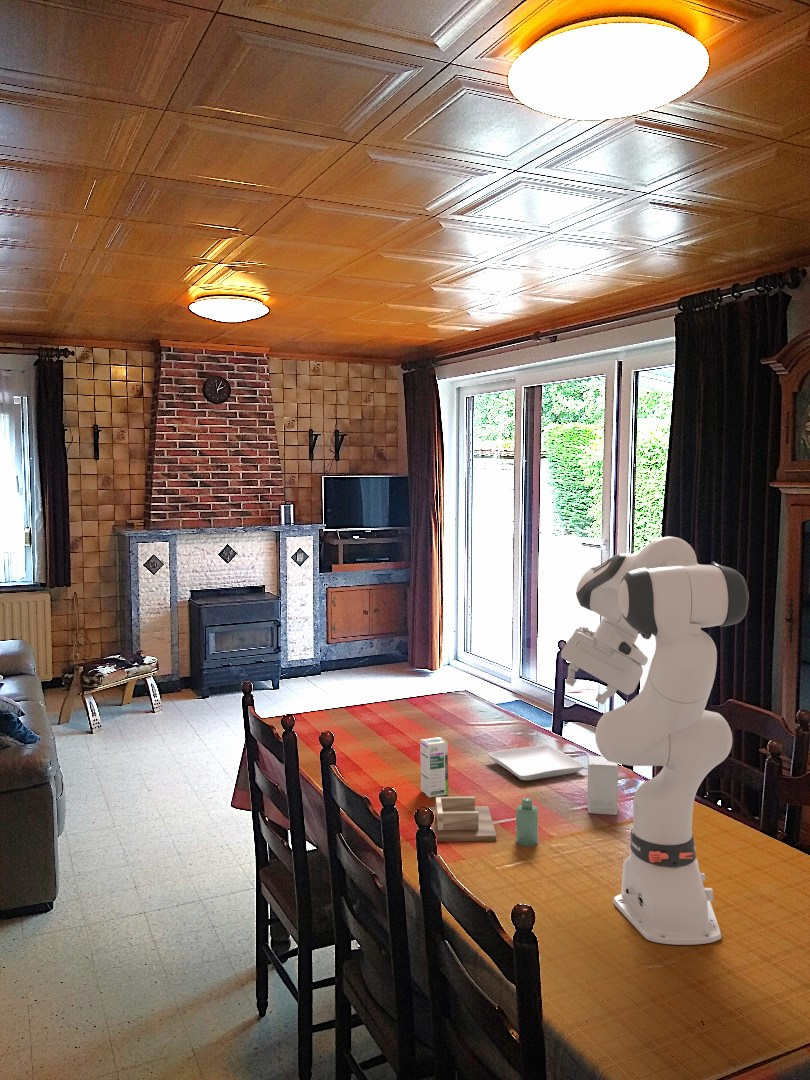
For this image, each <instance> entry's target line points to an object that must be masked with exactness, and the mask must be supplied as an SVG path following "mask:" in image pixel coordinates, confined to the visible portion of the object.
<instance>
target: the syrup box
mask: <svg viewBox="0 0 810 1080" xmlns="http://www.w3.org/2000/svg"><path fill="white" fill-rule="evenodd" d="M419 745H420V746H419V747H420V748H419V750H420V751H419V752H420V784H421V785H420V788H421V789H420V790H421V792H422V793H423V792H424V793H425V794H426V795H425V794H424V793H423V794H424V795H425V796H427V798H429V799H431V798H436V797H443V796H448V795H449V792H450V791H449V749H448V748H449V747H448V746H449V743H448V741H447V740H446V739H445V738H442V737H440V736H437V737H431V738H425V739H424V738H423V739H422V738H421V739H420V740H419Z"/></svg>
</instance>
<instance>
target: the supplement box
mask: <svg viewBox="0 0 810 1080" xmlns="http://www.w3.org/2000/svg"><path fill="white" fill-rule="evenodd" d="M618 774H619V763H615V762H610V761H607V760H606V759H605V758H604V757H603V755H601V756H600V755H588V756H587V800H586V801H587V804H586V805H587V813H588V814H596V815H597V814H598V815H599V814H600V815H612V816H617V815H618V810H619V809H618V805H619V804H618V798H619V796H618V795H619V793H618V791H619V790H618V789H619V788H618V787H619V785H618V784H619V781H618V780H619V775H618Z"/></svg>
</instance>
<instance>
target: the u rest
mask: <svg viewBox="0 0 810 1080" xmlns="http://www.w3.org/2000/svg"><path fill="white" fill-rule="evenodd" d="M475 801H476V797H475V796H474V795H472V796H471V795H470V796H468V795H467V796H463V795H462V796H460V795H459V796H436V797H435V806H426V807H427V808H430V809H431V810H432V811H433V812H434V814H435V822H434V824H433V826H432V829H433V830H434V831H435V833H436V836H437V841H438V842H482V841H483V842H484V841H485V842H486V841H487V842H489V841H493V842H494V841H497V832H496V830H495V826H494V822H493V818H492V816H491V815H492V814H491V811H490V808H489V806H488V805H480V806H479V805H476V802H475Z"/></svg>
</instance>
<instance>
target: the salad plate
mask: <svg viewBox="0 0 810 1080" xmlns="http://www.w3.org/2000/svg"><path fill="white" fill-rule="evenodd" d="M487 756H488V757H489V758H490V759H491V760H492V761H493V762H494V763H496V764H498V765H499V766H501V768H502V767H503V768H504V770H505V769H506V770H507V771H508V772H510V773H511V774H513V775H514V776H515V777H517V778H518V779H519V780H521V781H534V780H536V781H537V780H541V779H549V778H554V777H555V778H556V777H561V776H566V775H571V774H575V773H578V772H580V771H582V770H583V769H585V767H586V765H585V764H583V763H582V762H580V761H579V760H577V759H575V758H573V757H571V756H569V755H568V754H566V753H564V752H562V751H561V750H559V749H557V748H555V747H554V746H551V745H549V744H545V745H534V746H527V747H520V748H519V747H517V748H511V749H503V750H499V751H498V750H497V751H492V752H491V751H490V752H487Z"/></svg>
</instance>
